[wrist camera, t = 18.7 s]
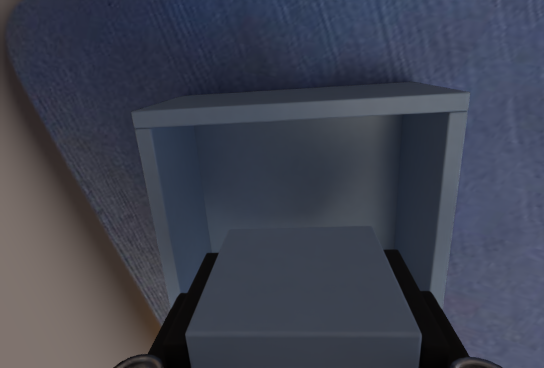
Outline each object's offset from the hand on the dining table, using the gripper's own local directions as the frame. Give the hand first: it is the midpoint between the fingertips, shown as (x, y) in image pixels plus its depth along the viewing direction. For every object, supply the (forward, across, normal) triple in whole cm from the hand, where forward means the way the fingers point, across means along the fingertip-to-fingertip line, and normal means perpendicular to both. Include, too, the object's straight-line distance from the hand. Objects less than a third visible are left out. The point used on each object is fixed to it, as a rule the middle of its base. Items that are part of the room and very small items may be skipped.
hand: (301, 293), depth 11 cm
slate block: (0, 0, 0) cm, 0 cm away
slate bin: (+8, 0, 0) cm, 8 cm away
